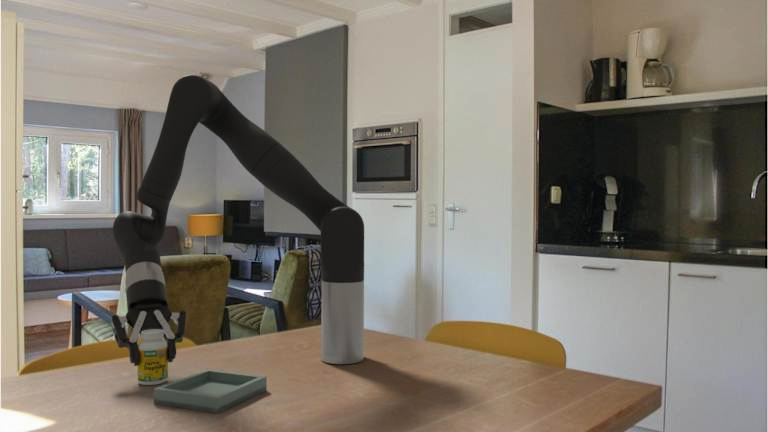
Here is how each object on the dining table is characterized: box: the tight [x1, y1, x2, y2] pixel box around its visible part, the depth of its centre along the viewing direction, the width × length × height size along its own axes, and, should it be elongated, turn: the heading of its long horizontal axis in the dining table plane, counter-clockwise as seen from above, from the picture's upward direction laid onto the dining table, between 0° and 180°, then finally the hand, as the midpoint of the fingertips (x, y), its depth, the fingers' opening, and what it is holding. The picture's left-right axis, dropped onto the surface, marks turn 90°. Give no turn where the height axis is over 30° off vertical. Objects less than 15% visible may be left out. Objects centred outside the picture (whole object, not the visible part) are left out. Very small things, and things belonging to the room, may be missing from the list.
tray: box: [153, 368, 268, 414], centre depth 108 cm, size 14×13×2 cm
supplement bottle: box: [137, 329, 169, 386], centre depth 117 cm, size 5×5×10 cm
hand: (154, 361), depth 115 cm, fingers closed on supplement bottle, 5 cm apart
